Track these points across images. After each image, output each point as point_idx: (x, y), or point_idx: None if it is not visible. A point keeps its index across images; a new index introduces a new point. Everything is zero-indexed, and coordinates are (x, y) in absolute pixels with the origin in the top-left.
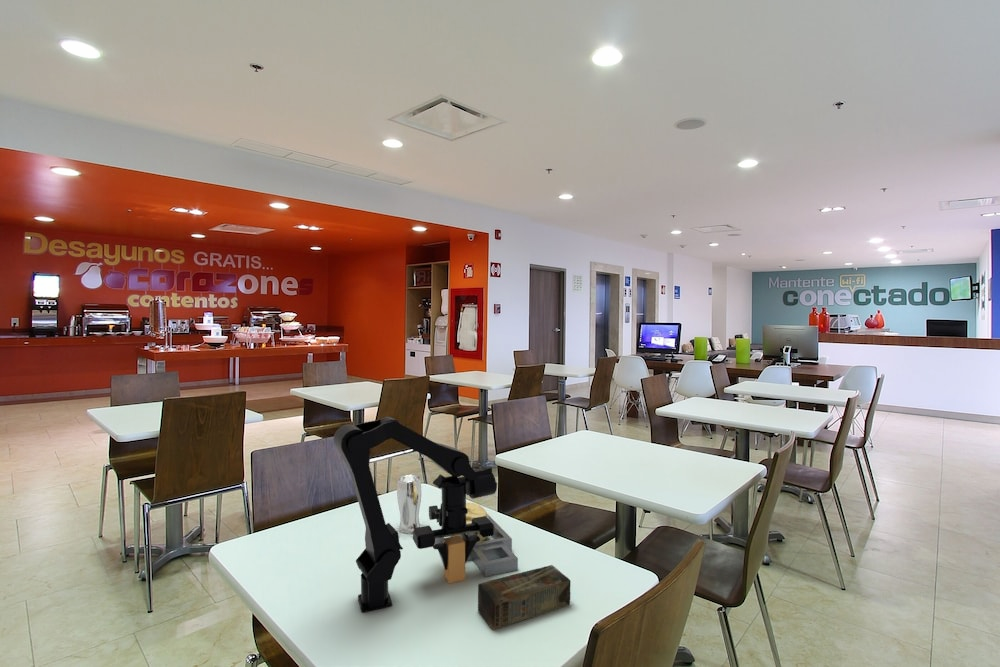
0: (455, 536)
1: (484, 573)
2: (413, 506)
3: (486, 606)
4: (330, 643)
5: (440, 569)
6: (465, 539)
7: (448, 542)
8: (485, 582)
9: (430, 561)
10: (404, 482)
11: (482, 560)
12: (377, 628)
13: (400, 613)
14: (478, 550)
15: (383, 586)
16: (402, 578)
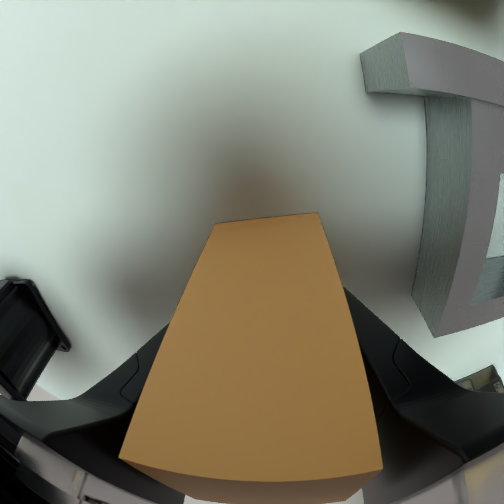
0: (301, 483)
1: (418, 295)
2: None
3: None
4: (40, 377)
5: (198, 149)
6: (383, 483)
7: (192, 492)
8: None
9: (146, 42)
10: None
11: (451, 296)
12: (81, 386)
13: (102, 373)
14: (492, 159)
15: (33, 386)
16: (41, 207)
